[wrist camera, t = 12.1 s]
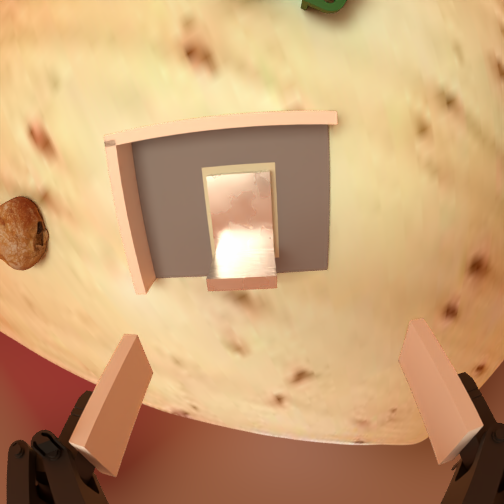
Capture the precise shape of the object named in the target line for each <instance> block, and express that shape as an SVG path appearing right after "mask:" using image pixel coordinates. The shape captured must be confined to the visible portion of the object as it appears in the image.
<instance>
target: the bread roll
mask: <svg viewBox="0 0 504 504" xmlns="http://www.w3.org/2000/svg"><path fill="white" fill-rule="evenodd" d="M47 241H48V233H47V230H46V229H45V226H44V223H43V220H42V218H41V216H40V214H39V212H38V209H37V207H36V206H35V204H34V203H33V202H32V201H30V200H29V199H27V198H24V197H15V198H13V199H11V200H9V201H7V202H5V203H4V204H2V205H0V259H2V260H3V261H5V262H6V263H7V264H8V265H9V266H10V267H12V268H14V269H16V270H26V269H29V268H31V267H32V266H34V265H35V264H36V263H37V262H38V261H39V259H40V258H41V256H42V255H43V254H44V252H45V249H46V242H47Z"/></svg>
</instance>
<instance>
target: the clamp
mask: <svg viewBox="0 0 504 504" xmlns="http://www.w3.org/2000/svg"><path fill="white" fill-rule="evenodd" d="M346 1H347V0H334V2H333V3H327V2H326V1H324V0H302V4H301V8H302V9H304V10H306V9H307V7H308V6H311V7H313V8H315V9H317V10H319V11H321V12H324V13H335V12H337V11H339V10H340V9H341V8H342V7H343V6H344V4H345V2H346Z"/></svg>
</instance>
